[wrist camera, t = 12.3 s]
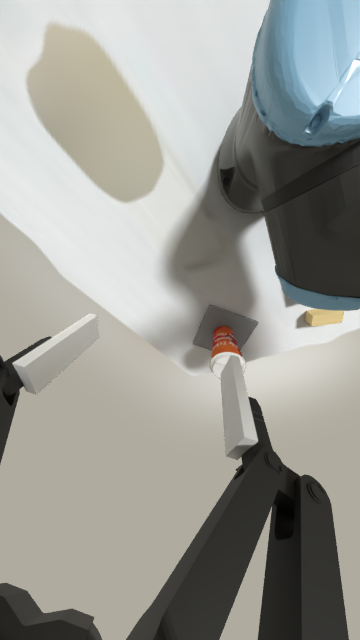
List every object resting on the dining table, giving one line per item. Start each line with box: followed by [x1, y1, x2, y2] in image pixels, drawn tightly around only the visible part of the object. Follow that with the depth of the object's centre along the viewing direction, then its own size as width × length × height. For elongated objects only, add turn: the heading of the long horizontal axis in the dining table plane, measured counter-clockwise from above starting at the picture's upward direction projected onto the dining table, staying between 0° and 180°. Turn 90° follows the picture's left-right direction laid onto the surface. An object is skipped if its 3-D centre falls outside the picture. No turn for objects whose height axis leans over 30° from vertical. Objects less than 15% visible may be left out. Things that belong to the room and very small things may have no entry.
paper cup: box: [209, 326, 246, 379], centre depth 39 cm, size 8×8×14 cm
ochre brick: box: [305, 309, 344, 326], centre depth 37 cm, size 6×3×3 cm, turn 105°
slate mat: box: [193, 305, 258, 350], centre depth 45 cm, size 14×14×1 cm
